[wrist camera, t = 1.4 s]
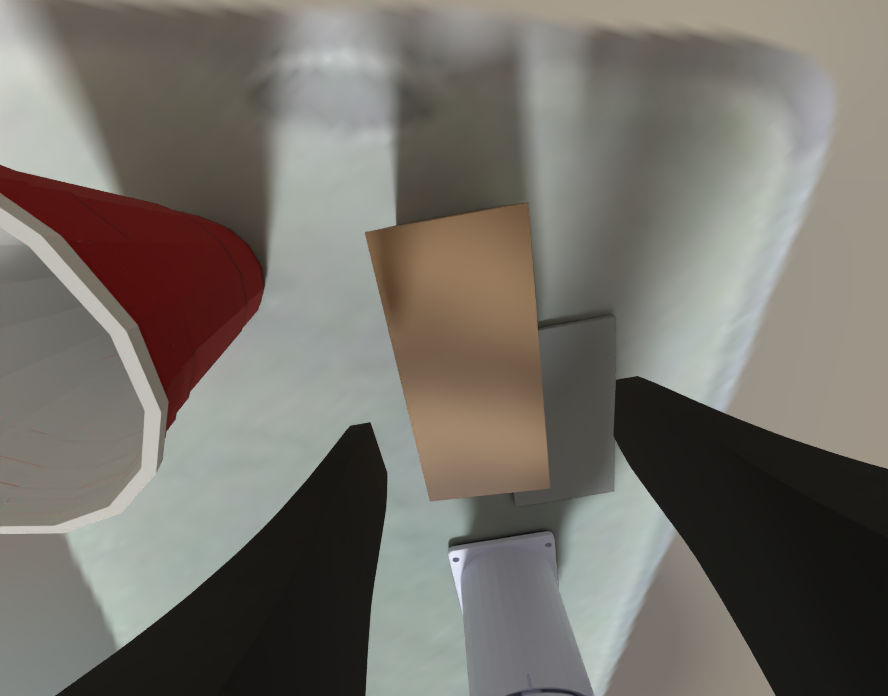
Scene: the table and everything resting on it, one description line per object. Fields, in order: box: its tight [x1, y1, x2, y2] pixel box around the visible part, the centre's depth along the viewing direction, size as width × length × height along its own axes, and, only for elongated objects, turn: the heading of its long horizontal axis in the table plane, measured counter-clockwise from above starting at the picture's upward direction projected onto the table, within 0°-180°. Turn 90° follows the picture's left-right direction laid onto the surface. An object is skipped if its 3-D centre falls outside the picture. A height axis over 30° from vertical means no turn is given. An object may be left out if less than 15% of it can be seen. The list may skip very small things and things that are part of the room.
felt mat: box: [513, 315, 616, 507], centre depth 22 cm, size 13×7×1 cm, turn 10°
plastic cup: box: [0, 165, 264, 534], centre depth 13 cm, size 11×11×12 cm
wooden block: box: [365, 203, 550, 501], centre depth 17 cm, size 12×6×6 cm, turn 10°
